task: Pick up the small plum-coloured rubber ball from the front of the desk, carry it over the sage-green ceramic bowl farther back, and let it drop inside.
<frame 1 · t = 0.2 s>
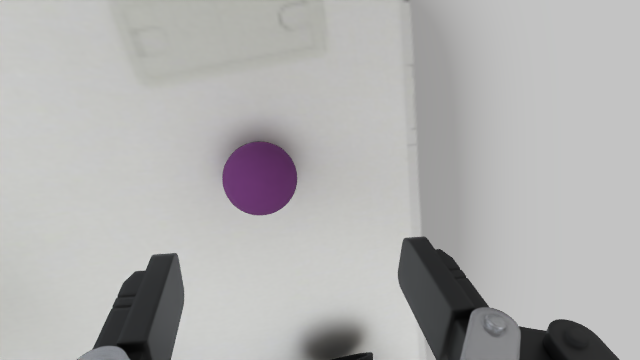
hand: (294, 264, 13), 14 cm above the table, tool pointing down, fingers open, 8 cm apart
plum ball: (260, 178, 24), point 2 cm above the table
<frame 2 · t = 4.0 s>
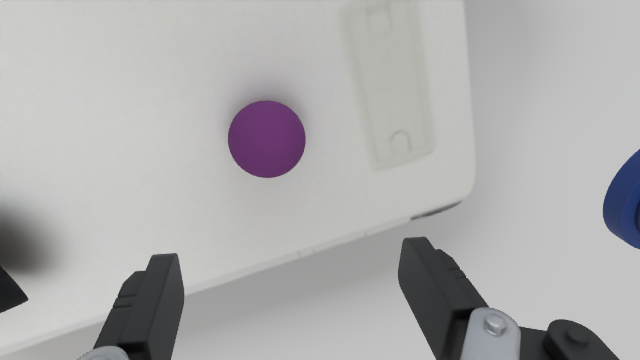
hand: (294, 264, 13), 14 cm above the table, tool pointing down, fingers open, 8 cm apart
plum ball: (267, 139, 23), point 2 cm above the table
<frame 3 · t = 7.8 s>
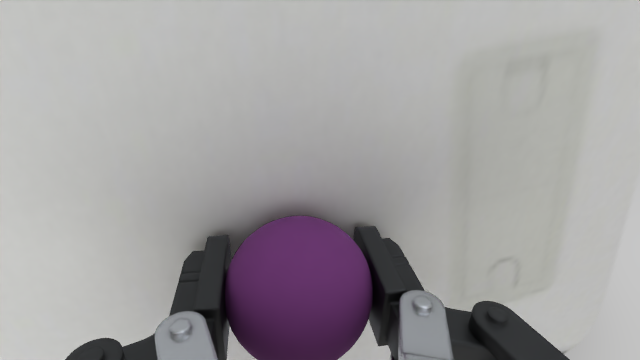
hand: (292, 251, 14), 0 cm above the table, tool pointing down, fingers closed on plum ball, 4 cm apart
plum ball: (299, 289, 12), point 2 cm above the table, touching gripper
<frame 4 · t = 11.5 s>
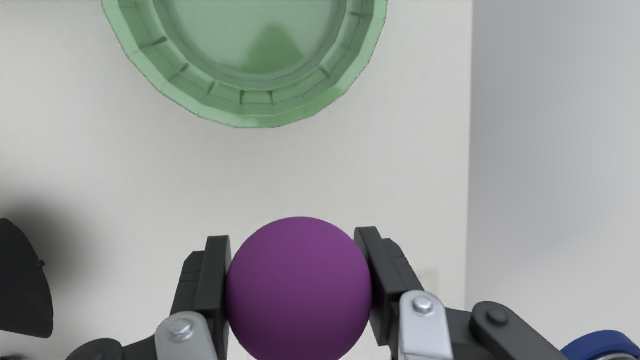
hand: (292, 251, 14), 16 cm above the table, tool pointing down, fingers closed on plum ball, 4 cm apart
telephone: (43, 324, 33), on the table
plum ball: (299, 289, 12), point 18 cm above the table, touching gripper
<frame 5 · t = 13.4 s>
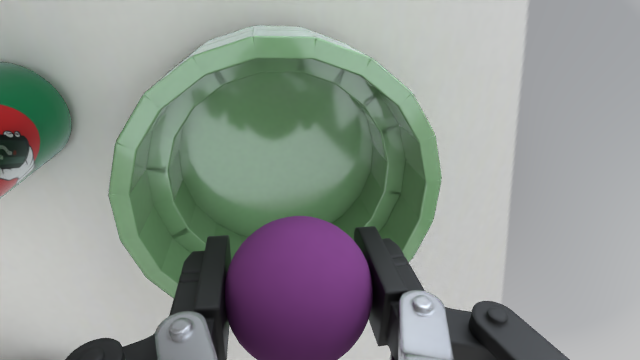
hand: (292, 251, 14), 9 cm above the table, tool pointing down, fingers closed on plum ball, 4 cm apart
plum ball: (299, 289, 12), point 11 cm above the table, touching gripper
soda can: (23, 110, 19), on the table
green bowl: (279, 157, 22), on the table
when the fingers open (5 cm above the table, at t = 15.0 s): plum ball drops 4 cm, resting on green bowl.
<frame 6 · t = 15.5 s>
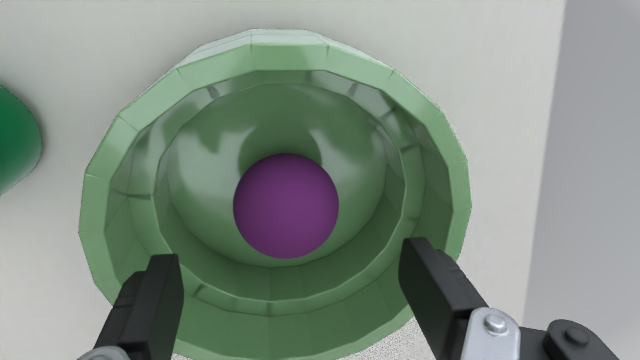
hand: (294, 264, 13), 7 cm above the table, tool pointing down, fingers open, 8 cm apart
plum ball: (286, 205, 17), point 3 cm above the table, touching green bowl
green bowl: (281, 176, 19), on the table
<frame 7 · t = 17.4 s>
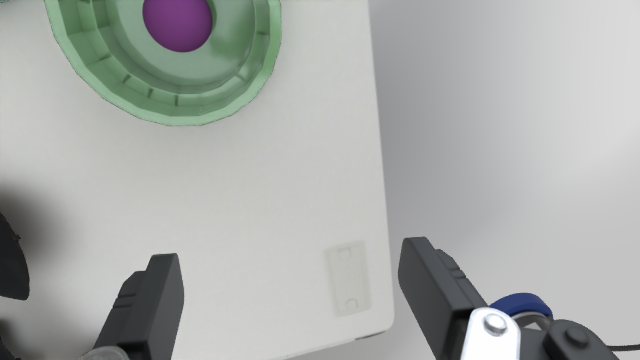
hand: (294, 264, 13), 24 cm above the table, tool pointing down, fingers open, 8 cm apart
telephone: (23, 293, 39), on the table
plum ball: (178, 18, 27), point 3 cm above the table, touching green bowl
green bowl: (184, 14, 29), on the table
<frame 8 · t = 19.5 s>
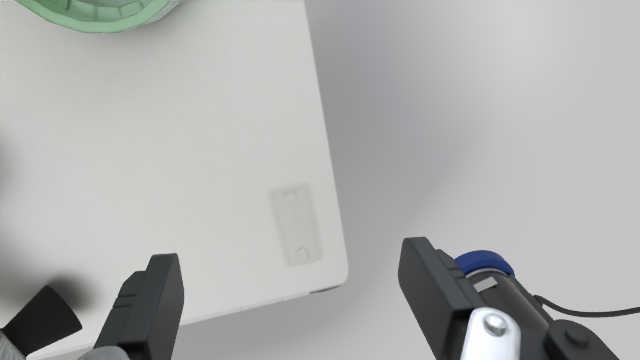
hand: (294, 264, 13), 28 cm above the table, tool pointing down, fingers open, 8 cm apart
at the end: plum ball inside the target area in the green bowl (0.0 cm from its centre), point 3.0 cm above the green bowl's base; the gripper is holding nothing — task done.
